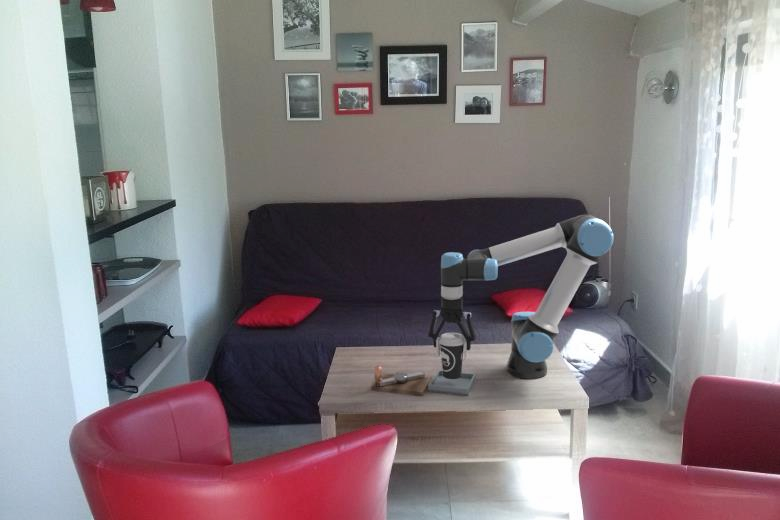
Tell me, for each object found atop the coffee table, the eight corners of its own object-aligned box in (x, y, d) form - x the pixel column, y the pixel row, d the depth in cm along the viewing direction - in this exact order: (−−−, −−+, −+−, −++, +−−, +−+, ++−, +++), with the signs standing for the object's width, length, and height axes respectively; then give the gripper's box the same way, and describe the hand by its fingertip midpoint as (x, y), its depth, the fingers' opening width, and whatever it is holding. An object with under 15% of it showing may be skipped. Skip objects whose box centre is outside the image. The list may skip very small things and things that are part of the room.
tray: (476, 380, 233) (476, 373, 233) (467, 395, 220) (467, 389, 220) (438, 376, 238) (438, 370, 238) (427, 391, 225) (427, 384, 224)
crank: (420, 373, 236) (419, 355, 235) (426, 378, 232) (426, 360, 230) (372, 383, 228) (372, 365, 227) (378, 388, 224) (377, 369, 223)
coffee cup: (464, 381, 223) (464, 341, 220) (437, 380, 225) (436, 339, 222) (466, 371, 232) (466, 332, 229) (440, 370, 234) (440, 331, 231)
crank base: (432, 381, 233) (432, 378, 233) (422, 396, 221) (422, 392, 221) (383, 376, 239) (383, 372, 239) (371, 390, 227) (371, 386, 227)
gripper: (485, 295, 222) (484, 356, 227) (424, 292, 229) (425, 350, 234) (481, 301, 215) (480, 363, 220) (418, 297, 222) (419, 357, 227)
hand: (452, 357), depth 227 cm, fingers closed on coffee cup, 9 cm apart
